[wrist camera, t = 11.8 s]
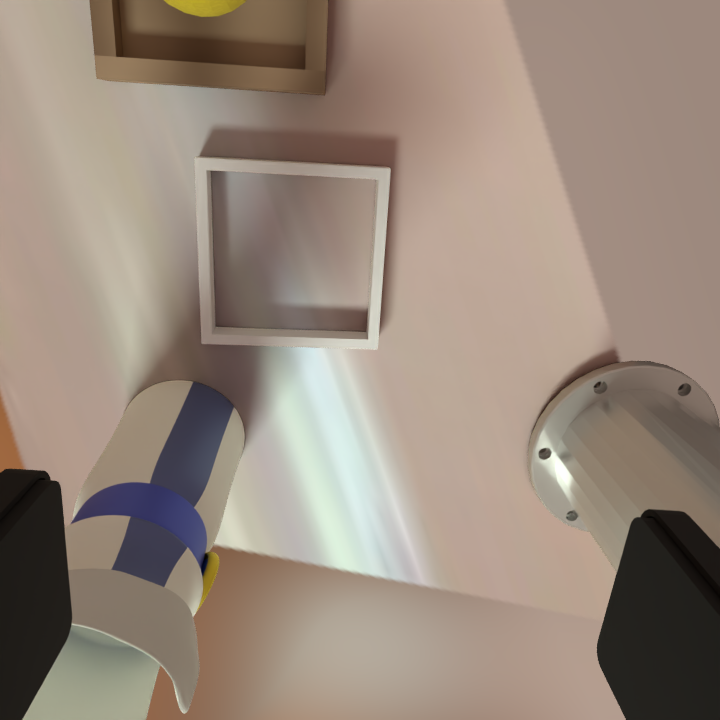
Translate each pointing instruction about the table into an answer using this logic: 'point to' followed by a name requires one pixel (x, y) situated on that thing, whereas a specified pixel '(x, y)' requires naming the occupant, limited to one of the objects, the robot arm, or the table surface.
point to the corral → (206, 260)
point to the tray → (213, 45)
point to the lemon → (206, 6)
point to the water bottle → (144, 555)
